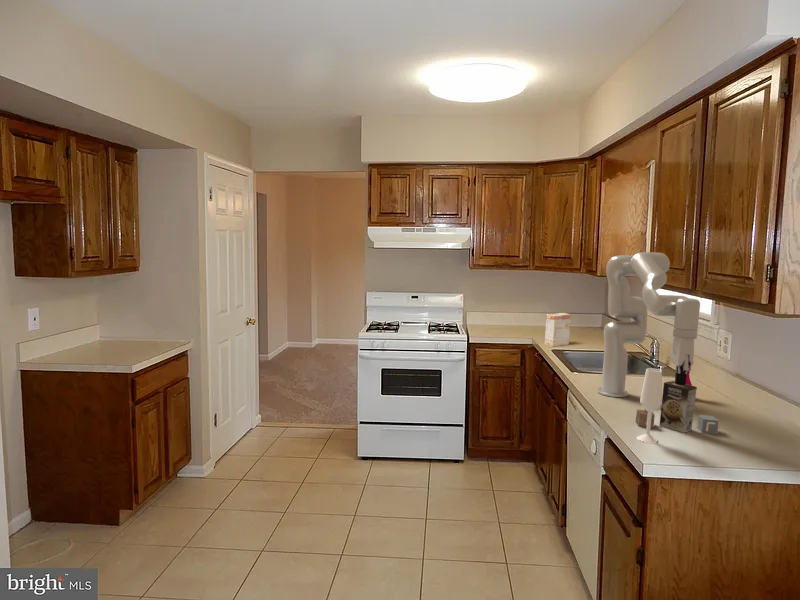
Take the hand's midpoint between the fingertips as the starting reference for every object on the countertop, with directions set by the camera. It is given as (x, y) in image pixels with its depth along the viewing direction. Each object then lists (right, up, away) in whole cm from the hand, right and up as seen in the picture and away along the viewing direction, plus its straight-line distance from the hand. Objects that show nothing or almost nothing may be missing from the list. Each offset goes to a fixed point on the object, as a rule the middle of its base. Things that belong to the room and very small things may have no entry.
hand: (680, 384), depth 199 cm
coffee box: (-1, -16, +2) cm, 16 cm away
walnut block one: (-11, -16, +4) cm, 19 cm away
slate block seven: (+10, -17, 0) cm, 19 cm away
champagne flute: (-17, -17, -11) cm, 26 cm away
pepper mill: (+22, -12, +42) cm, 49 cm away
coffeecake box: (-2, +2, +150) cm, 150 cm away
